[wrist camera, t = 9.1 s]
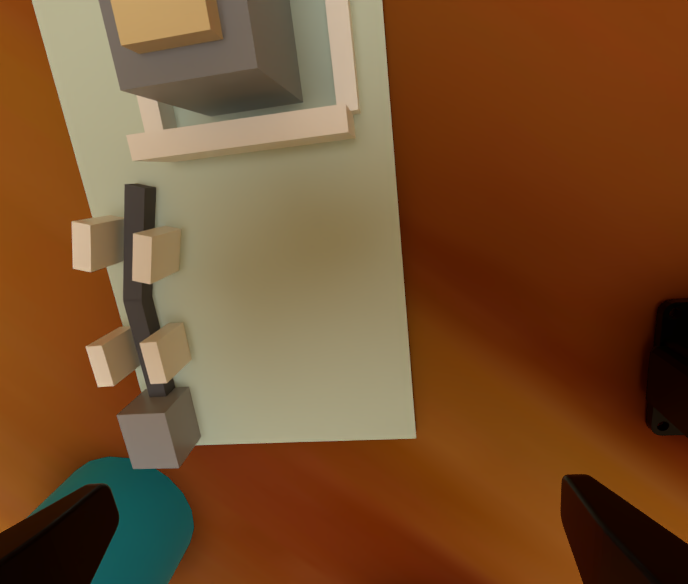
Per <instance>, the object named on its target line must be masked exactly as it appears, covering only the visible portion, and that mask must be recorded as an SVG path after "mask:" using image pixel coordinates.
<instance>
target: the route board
mask: <svg viewBox="0 0 688 584" xmlns="http://www.w3.org/2000/svg"><path fill="white" fill-rule="evenodd" d="M32 3H33V6H34V10H35V14H36V17H37V21H38V24H39V28H40V31H41V35H42V39H43V42H44V46H45V49H46V53H47V56H48V60H49V64H50V67H51V71H52V74H53V78H54V81H55V85H56V89H57V92H58V96H59V99H60V103H61V106H62V110H63V114H64V117H65V121H66V124H67V128H68V131H69V135H70V139H71V142H72V146H73V149H74V153H75V157H76V160H77V164H78V167H79V171H80V174H81V178H82V182H83V185H84V189H85V192H86V196H87V199H88V203H89V207H90V210H91V214H92V217H93V218H95V217H101V216H107V215H113V216H118V217H123V218H124V190H125V184H142V185H147V186H153V187H156V208H155V228H157V227H161V226H169V227H174V228H179V229H181V241H180V259H179V271H177V272H175V273H173V274H171V275H169V276H167V277H165V278H163V279H161V280H159V281H157V282H154V283H153V290H152V297H153V301H154V305H155V309H156V313H157V317H158V321H159V325H160V328H162V327H163V326H165V325H166V324H168V323H179V322H183V324H184V329H185V333H186V337H187V341H188V345H189V350H190V354H191V358H192V360H191V361H190V362H189V363H188V364H187V365H186V366H185V367H183V368H182V369H181V370H180V371H179V372H178V373H177V374H176V375H175V376H174V377H173V380H174V384H175V387H189V389H190V393H191V397H192V401H193V405H194V409H195V413H196V418H197V422H198V426H199V430H200V434H201V438H200V439H199V441H198V442H197V444H196V445H217V444H249V443H282V442H315V441H348V440H380V439H413V438H416V429H415V416H414V404H413V391H412V378H411V365H410V352H409V339H408V326H407V313H406V301H405V288H404V275H403V262H402V249H401V236H400V223H399V211H398V198H397V185H396V172H395V159H394V146H393V133H392V120H391V108H390V95H389V82H388V69H387V56H386V43H385V30H384V18H383V5H382V0H350V8H351V18H352V29H353V39H354V49H355V60H356V70H357V80H358V91H359V101H360V112H361V114H355V115H353V117H354V126H355V136H356V138H355V139H347V140H339V141H332V142H324V143H317V144H309V145H301V146H294V147H286V148H278V149H271V150H263V151H256V152H248V153H240V154H233V155H225V156H218V157H210V158H202V159H195V160H187V161H180V162H147V161H132V158H131V153H130V149H129V145H128V141H127V137H126V135H130V134H137V133H144V132H145V131H144V126H143V122H142V118H141V113H140V109H139V105H138V100H137V96H136V95H134V94H131V93H127V92H124V91H120V87H119V82H118V78H117V74H116V70H115V66H114V62H113V58H112V54H111V50H110V46H109V42H108V37H107V33H106V29H105V25H104V21H103V17H102V13H101V9H100V5H99V1H98V0H32ZM290 7H291V14H292V22H293V29H294V36H295V44H296V51H297V59H298V66H299V74H300V81H301V89H302V96H303V103H297V104H290V105H283V106H277V107H270V108H263V109H257V110H250V111H243V112H237V113H230V114H223V115H217V116H207V115H203V114H200V113H196V112H193V111H190V110H186V109H183V108H179V107H176V106H173V110H174V115H175V119H176V124H177V128H178V127H185V126H192V125H199V124H206V123H213V122H220V121H227V120H234V119H241V118H248V117H255V116H262V115H269V114H276V113H283V112H290V111H297V110H304V109H311V108H318V107H325V106H332V105H337V104H336V95H335V86H334V77H333V68H332V59H331V50H330V41H329V32H328V23H327V14H326V5H325V0H290ZM123 263H124V261H122V262H119V263H117V264H114V265H111V266H108V267H107V271H108V274H109V278H110V282H111V285H112V289H113V292H114V296H115V299H116V303H117V307H118V310H119V314H120V317H121V321H122V325H123V327H125V326H130V325H129V321H128V317H127V314H126V310H125V306H124V303H123ZM135 371H136V375H137V378H138V382H139V385H140V389H141V392H143V391H144V390H145V389H147V386H146V383H145V379H144V375H143V372H142V368H141V365H140V366H139V367H138V368H136V369H135Z"/></svg>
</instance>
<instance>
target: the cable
mask: <svg viewBox="0 0 688 584" xmlns="http://www.w3.org/2000/svg"><path fill="white" fill-rule="evenodd" d="M155 208H156V187H153V186H147V185H142V184H125V190H124V263H123V303H124V306H125V310H126V314H127V317H128V321H129V325H130V328H131V332H132V335H133V339H134V343H135V346H136V350H137V354H138V357H139V361H140V365H141V368H142V372H143V375H144V379H145V383H146V386H147V390H148V394H149V397H166V396H167V395H168V394H169V393H170V392H171V391H172V390H173V389H174V388H175V384H174V380H173V378H172V379H171V380H170V381H169V382H168V383H162V384H150V380H149V377H148V373H147V369H146V366H145V362H144V358H143V355H142V351H141V347H140V344H139V343H140V342H142V341H143V340H144V339H146V338H147V337H149V336H150V335H152V334H153V333H155V332H156V331H157V330H159V329H160V325H159V321H158V317H157V313H156V309H155V305H154V301H153V297H152V290H153V283H152V284H146V283H141V282H136V281H132V261H133V233H137V232H141V231H145V230H149V229H153V228H155Z"/></svg>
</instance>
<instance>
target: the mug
mask: <svg viewBox="0 0 688 584" xmlns="http://www.w3.org/2000/svg"><path fill="white" fill-rule="evenodd" d="M96 483H104V484H107V485H108V486H109V487H110V488H111V490H112V493H113V497H114V500H115V503H116V506H117V509H118V512H119V524H118V527H117V530H116V532H115V534H114V536H113V538H112V540H111V542H110V544H109V546H108V548H107V550H106V553H105V555H104V557H103V559H102V561H101V563H100V565H99V567H98V569H97V571H96V573H95V576H94V578H93V580H92V582H91V584H168V583H169V581H170V579H171V578H172V576H173V574H174V572H175V570H176V568H177V566H178V564H179V563H180V561H181V559H182V557H183V555H184V553H185V551H186V550H187V548H188V546H189V544H190V541H191V537H192V534H193V530H194V524H193V517H192V510H191V508H190V506H189V504H188V502H187V500H186V498H185V496H184V494H183V493H182V492H181V491H180V489H179V488H178V487H177V486H176V485H175V484H174V483H173V482H172V481H171V480H170V479H169V478H168V477H167V476H165V475H164V474H162V473H161V472H159V471H158V470H156V469H133V467H132V464H131V461H130V458H120V457H105V458H100V459H96V460H92V461H89V462H88V463H86V464H85V465H83V466H82V467H80V468H79V469H77V470H76V471H75V472H74V473H73V474H72V475H71V476H70V477H69V478H68V479H67V480H66V481H65V482H63V483H62V484H61V485H60V486H59V487H58V488H57V489H56V490H55V491H54V492H53V493H52V494H51V495H50V496H49V497H48V498H47V499H46V500H45V501H44V502H43V503H42V504H41V505H39V506H38V507H37V508H36V509H35V510H34V511H33V512H32V513H31V514H30V515H29V516H28V517H30V516H31V515H33V514H35V513H37V512H38V511H40V510H42V509H44V508H46V507H47V506H49V505H51V504H53V503H54V502H56V501H58V500H60V499H61V498H63V497H65V496H67V495H68V494H70V493H72V492H74V491H75V490H77V489H79V488H81V487H83V486H84V485H87V484H96ZM28 517H27V518H28Z"/></svg>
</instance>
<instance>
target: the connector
mask: <svg viewBox="0 0 688 584" xmlns="http://www.w3.org/2000/svg"><path fill="white" fill-rule="evenodd" d="M98 1H99V5H100V9H101V13H102V17H103V21H104V25H105V29H106V33H107V37H108V42H109V46H110V50H111V54H112V58H113V62H114V66H115V70H116V74H117V78H118V82H119V87H120V91H124V92H127V93H131V94H134V95H138V96H141V97H145V98H148V99H152V100H155V101H158V102H162V103H165V104H169V105H172V106H176V107H179V108H183V109H186V110H190V111H193V112H196V113H200V114H203V115H207V116H217V115H223V114H230V113H237V112H243V111H250V110H257V109H263V108H270V107H277V106H283V105H290V104H297V103H303V96H302V89H301V81H300V74H299V66H298V59H297V51H296V44H295V36H294V29H293V22H292V14H291V7H290V0H98Z"/></svg>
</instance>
